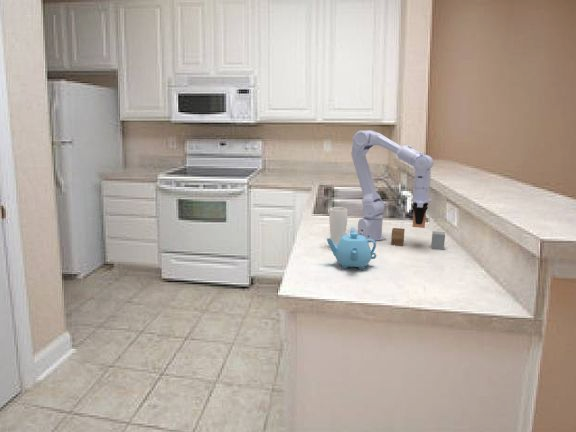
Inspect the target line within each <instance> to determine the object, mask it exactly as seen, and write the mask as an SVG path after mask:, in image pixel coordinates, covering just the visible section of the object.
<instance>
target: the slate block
mask: <svg viewBox="0 0 576 432" xmlns="http://www.w3.org/2000/svg"><path fill="white" fill-rule="evenodd" d="M445 237H446V232H445V231H436V230H432V232H431V245H430V246H431V247H430V248H431V250H437V251H438V250H440V251H445V242H446V241H445V240H446V238H445Z"/></svg>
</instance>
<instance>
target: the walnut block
mask: <svg viewBox="0 0 576 432" xmlns="http://www.w3.org/2000/svg"><path fill="white" fill-rule="evenodd" d="M390 238H391V240H390V242H391V243H390V246H394V245H395V246H396V247H403V246H404V243H405V242H404V241H405V228H401V227H400V228H399V227H398V228H397V227H392V229H391V237H390Z"/></svg>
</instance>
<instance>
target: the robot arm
mask: <svg viewBox="0 0 576 432" xmlns="http://www.w3.org/2000/svg"><path fill="white" fill-rule="evenodd" d="M351 139H352V141H351V142H352V147H351V152H350V153H351V155H350V156H351V158H352V162H353V166H354V168H355V171H356V172H355V173H356V175H357V179H358V181H359V185H360V189H361V192H362V195H363V197H362V200H361V201H362V202H361V203H362V214H363V215H364V217H363V218H360V219H359V220H358V223H357V233H358V235H362V236H364V237H365V238H366V239H372V240H374V241H375V242H377V241H383V240H384V241H385V240H387V238H386V237H384V236H382V235H383V219H384V218H383V216H384V215H383V213H384V212H386V204H385V202H384V201H383V200H382V197H381V195H380V194H379V193H378V192H377V189H376V186H375V183H374V179H373V177H372V172H371V170H370V169H371V168H370V167H369V163H368V159H367V156H366V155H367V154H368V152H369V151H370V149H371V148H372V147H374V146H380V147H383V148H385V149H386V150H388V151H390V152H393V153H395V154H396V155H397V159H398V160H401V161H402V162H404V163H406V164H408V165H410V166H411V167H413V168H414V181H413V192H412V193H413V194H412V199H411V201H412V202H413V203H412V205H411V207H412V210H413V212H414V213H415V221H416V224H422V222H423V218H424V214H425V212H426V213H427V210H428V205H429V202H431V203H432V202H433V199H431V198H430V187H431V177H432V176H431V172H432V168H433V166H434V160H433V158H432V156H430V155H429V154H424V152H422V151H418V150H416V149H414V148H413V146H412V145H410V144H409V145H407V144H405V145H400V144H398V143H397V142H395V141H394V140H392V139H389V138H388V137H387V136H385V135H383V134H382V133H380V132H377V131H374V130H372V129H368V130H358V131H357V132H356V133H355V134H354V135H353V137H352V138H351ZM369 242H371V241H368V243H369Z"/></svg>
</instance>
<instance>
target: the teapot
mask: <svg viewBox="0 0 576 432" xmlns="http://www.w3.org/2000/svg"><path fill="white" fill-rule="evenodd" d="M326 241H327V244H328V246H329V248H330V250H331V252H332V254H333V256H334V257H335V259H336V261H337V263H338V264H339V265H341V269H342V270H347V269H349V267H355V268H356V267H357V269H358V270H361V271H363V270H366V268H365V267H366V266H367V265H369V263H370V262H371V260H375V259H376V258H377V253H376V252H375V249H376V248H377V241H374V240H372V239H366V238H365V237H364V236H362V235H358V232H356V231H355V228H354V227H350V233H349V234H345V235H343V236H342V238H341V239H340V241H339V243H338V245H337V246H336V245H335V244H334V242H333V241H332V239H331V238H330V237H329V238H326ZM368 241H370V242H371V243H373V246H372V249H371V247H370V245H369V242H368Z"/></svg>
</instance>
